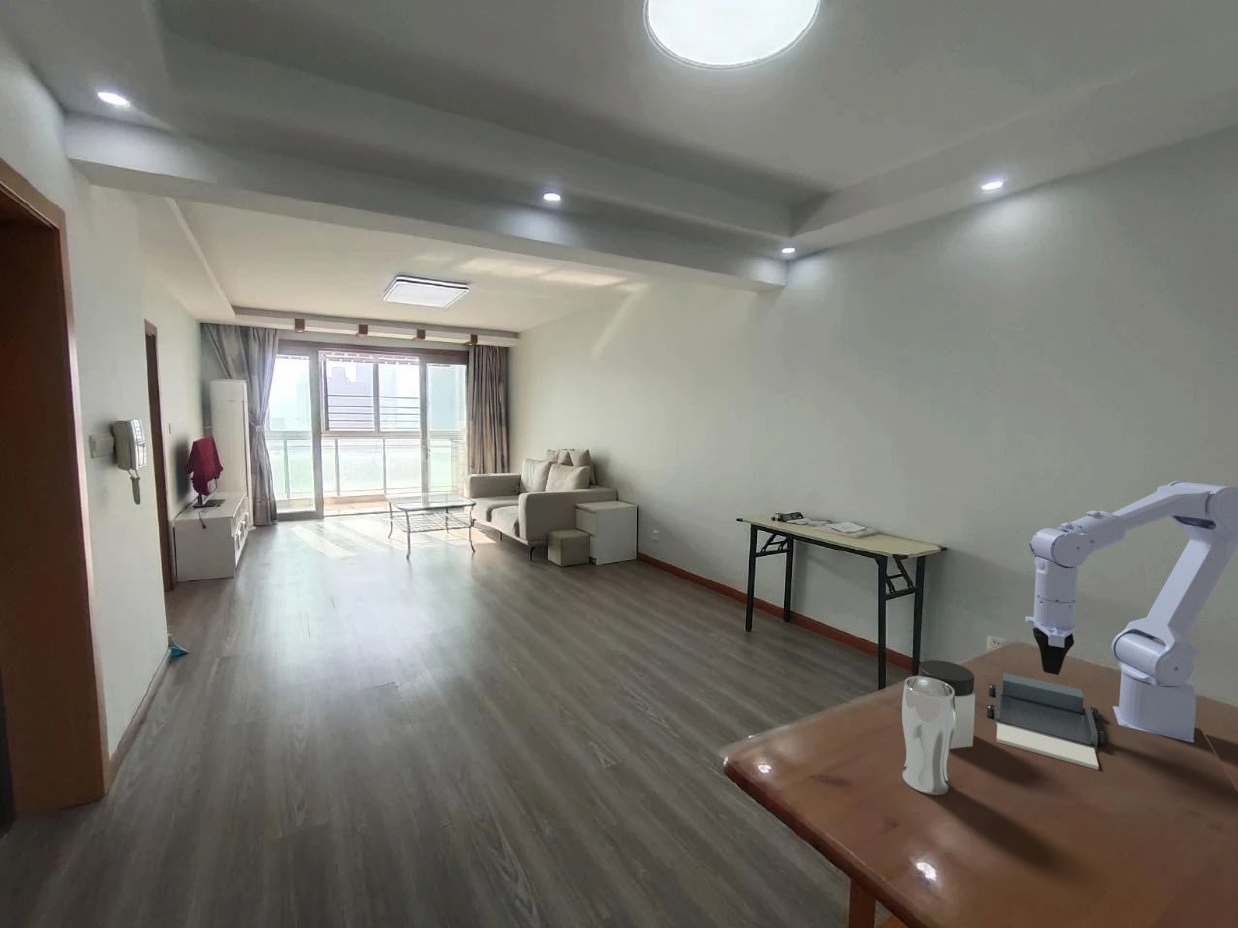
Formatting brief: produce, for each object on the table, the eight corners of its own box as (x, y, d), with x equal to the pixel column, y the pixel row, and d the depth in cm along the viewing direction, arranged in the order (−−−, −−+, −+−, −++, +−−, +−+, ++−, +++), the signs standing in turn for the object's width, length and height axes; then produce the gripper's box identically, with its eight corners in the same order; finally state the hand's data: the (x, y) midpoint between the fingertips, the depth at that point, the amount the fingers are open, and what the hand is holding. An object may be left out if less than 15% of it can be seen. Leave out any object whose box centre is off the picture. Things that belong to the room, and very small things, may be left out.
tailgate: (1095, 746, 91) (1101, 766, 85) (1095, 752, 91) (1100, 773, 85) (995, 720, 99) (994, 737, 93) (995, 726, 99) (994, 743, 93)
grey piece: (1094, 712, 103) (1096, 692, 103) (1105, 754, 90) (1107, 730, 90) (989, 688, 112) (990, 669, 112) (986, 723, 100) (987, 701, 99)
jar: (981, 740, 95) (984, 672, 94) (963, 758, 89) (966, 686, 88) (925, 718, 101) (928, 654, 100) (905, 734, 96) (908, 667, 95)
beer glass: (891, 766, 87) (894, 675, 86) (936, 767, 87) (940, 675, 86) (913, 796, 80) (917, 697, 79) (962, 797, 80) (966, 698, 79)
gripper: (1025, 583, 106) (1021, 652, 107) (1028, 605, 94) (1024, 682, 95) (1072, 589, 102) (1068, 661, 103) (1082, 612, 90) (1077, 693, 91)
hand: (1050, 672), depth 99 cm, fingers closed
